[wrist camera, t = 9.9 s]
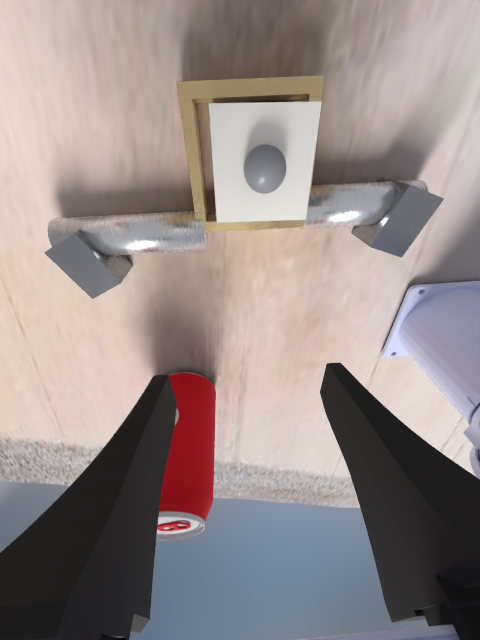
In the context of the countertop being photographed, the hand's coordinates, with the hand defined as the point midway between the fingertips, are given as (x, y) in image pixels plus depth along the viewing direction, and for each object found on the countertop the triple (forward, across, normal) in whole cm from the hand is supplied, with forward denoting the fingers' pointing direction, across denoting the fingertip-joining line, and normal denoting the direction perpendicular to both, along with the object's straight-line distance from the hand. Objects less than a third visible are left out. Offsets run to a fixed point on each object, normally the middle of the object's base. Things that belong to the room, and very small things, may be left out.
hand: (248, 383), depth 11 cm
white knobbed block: (+10, -1, -8) cm, 13 cm away
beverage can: (+10, +6, +12) cm, 17 cm away
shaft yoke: (+10, 0, -6) cm, 12 cm away
